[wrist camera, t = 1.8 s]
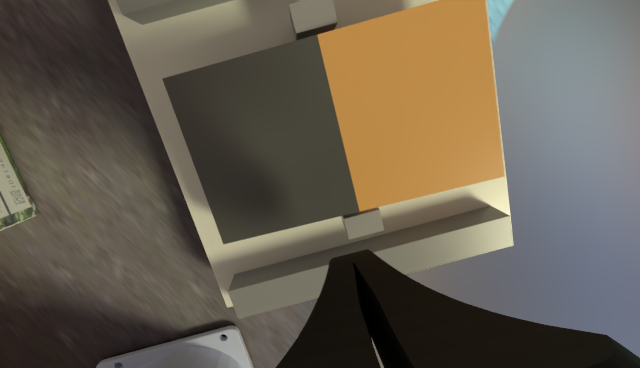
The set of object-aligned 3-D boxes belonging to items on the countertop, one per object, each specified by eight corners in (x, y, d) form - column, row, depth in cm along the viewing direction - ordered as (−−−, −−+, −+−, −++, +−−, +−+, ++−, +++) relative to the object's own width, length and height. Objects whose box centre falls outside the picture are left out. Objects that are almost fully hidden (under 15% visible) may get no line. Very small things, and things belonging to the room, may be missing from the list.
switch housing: (237, 278, 20) (215, 341, 15) (138, 7, 16) (56, -43, 11) (480, 212, 20) (547, 251, 15) (442, -75, 16) (514, -166, 11)
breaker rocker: (231, 233, 15) (223, 244, 13) (176, 80, 13) (162, 78, 12) (489, 170, 14) (504, 176, 13) (468, -2, 12) (483, -13, 11)
